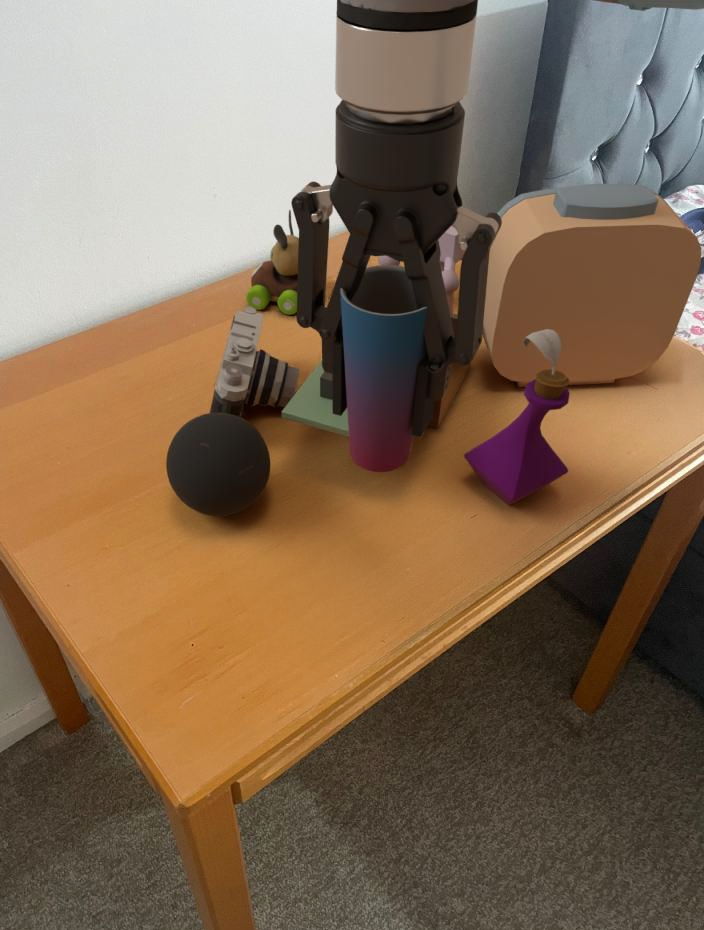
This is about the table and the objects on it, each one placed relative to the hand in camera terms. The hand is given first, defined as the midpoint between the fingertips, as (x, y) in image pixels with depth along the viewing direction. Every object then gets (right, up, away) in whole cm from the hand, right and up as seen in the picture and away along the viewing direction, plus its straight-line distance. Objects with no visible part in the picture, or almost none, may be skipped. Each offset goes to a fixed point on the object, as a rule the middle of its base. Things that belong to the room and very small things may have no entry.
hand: (382, 415), depth 60 cm
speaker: (-15, -7, +17) cm, 23 cm away
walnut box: (+5, +8, +30) cm, 31 cm away
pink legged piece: (+7, +23, +45) cm, 52 cm away
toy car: (-10, +22, +44) cm, 50 cm away
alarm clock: (+24, +10, +33) cm, 42 cm away
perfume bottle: (+15, -5, +18) cm, 24 cm away
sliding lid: (0, +4, +17) cm, 18 cm away
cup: (0, -3, +3) cm, 4 cm away
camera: (-12, +4, +27) cm, 30 cm away
